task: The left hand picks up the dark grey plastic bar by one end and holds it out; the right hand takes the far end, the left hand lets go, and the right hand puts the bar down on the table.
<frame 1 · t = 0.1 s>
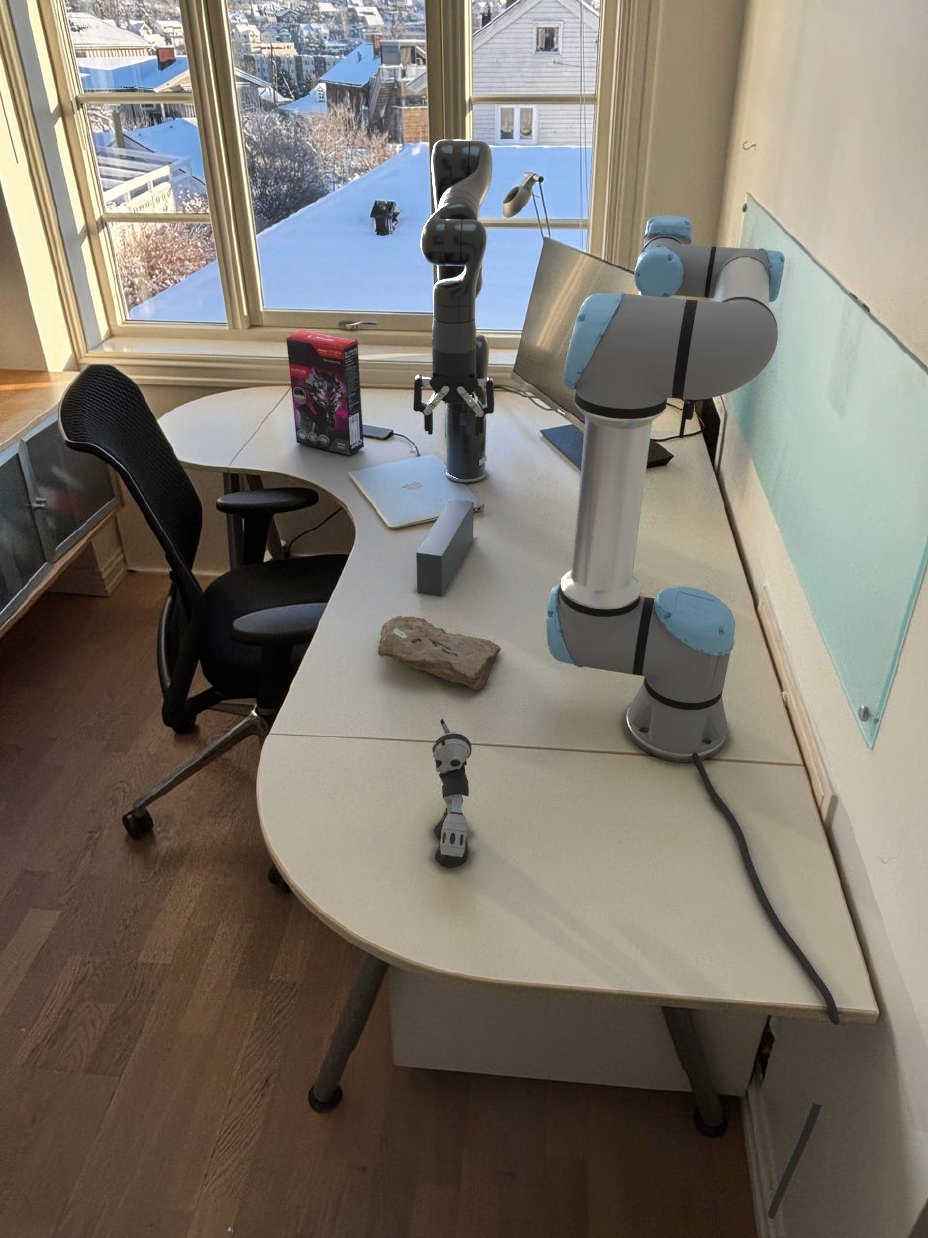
left hand: (453, 433, 166), 29 cm above the table, tool pointing down, fingers open, 8 cm apart
right hand: (643, 431, 170), 28 cm above the table, tool pointing down, fingers open, 13 cm apart
robot: (451, 844, 123), on the table
stone: (433, 664, 157), on the table
graphics card box: (330, 446, 233), on the table
bar: (446, 564, 185), on the table
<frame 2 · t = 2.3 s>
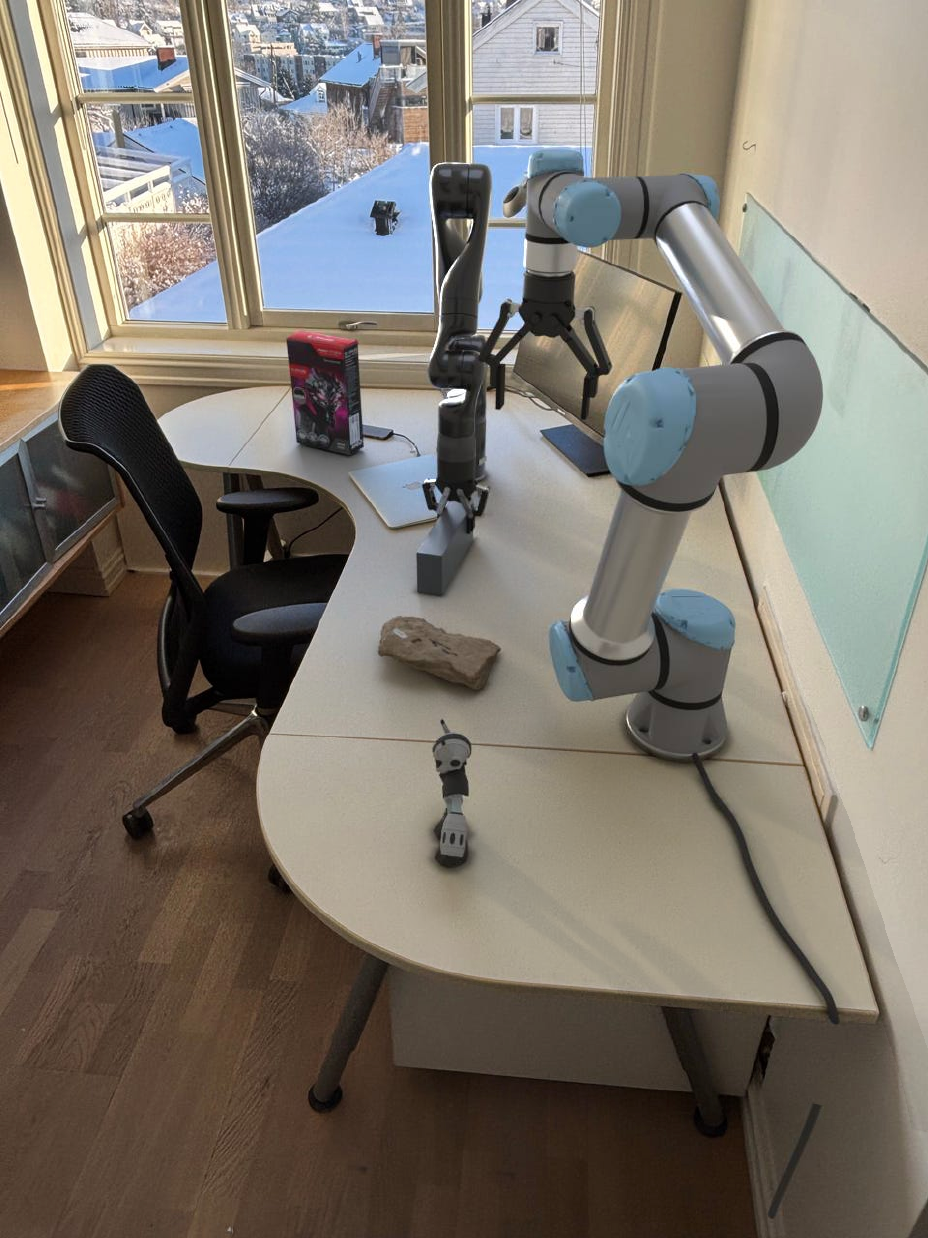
left hand: (456, 529, 188), 4 cm above the table, tool pointing down, fingers closed on bar, 5 cm apart
right hand: (541, 411, 144), 41 cm above the table, tool pointing down, fingers open, 13 cm apart
bar: (446, 564, 185), on the table, touching left hand
everything else where it was.
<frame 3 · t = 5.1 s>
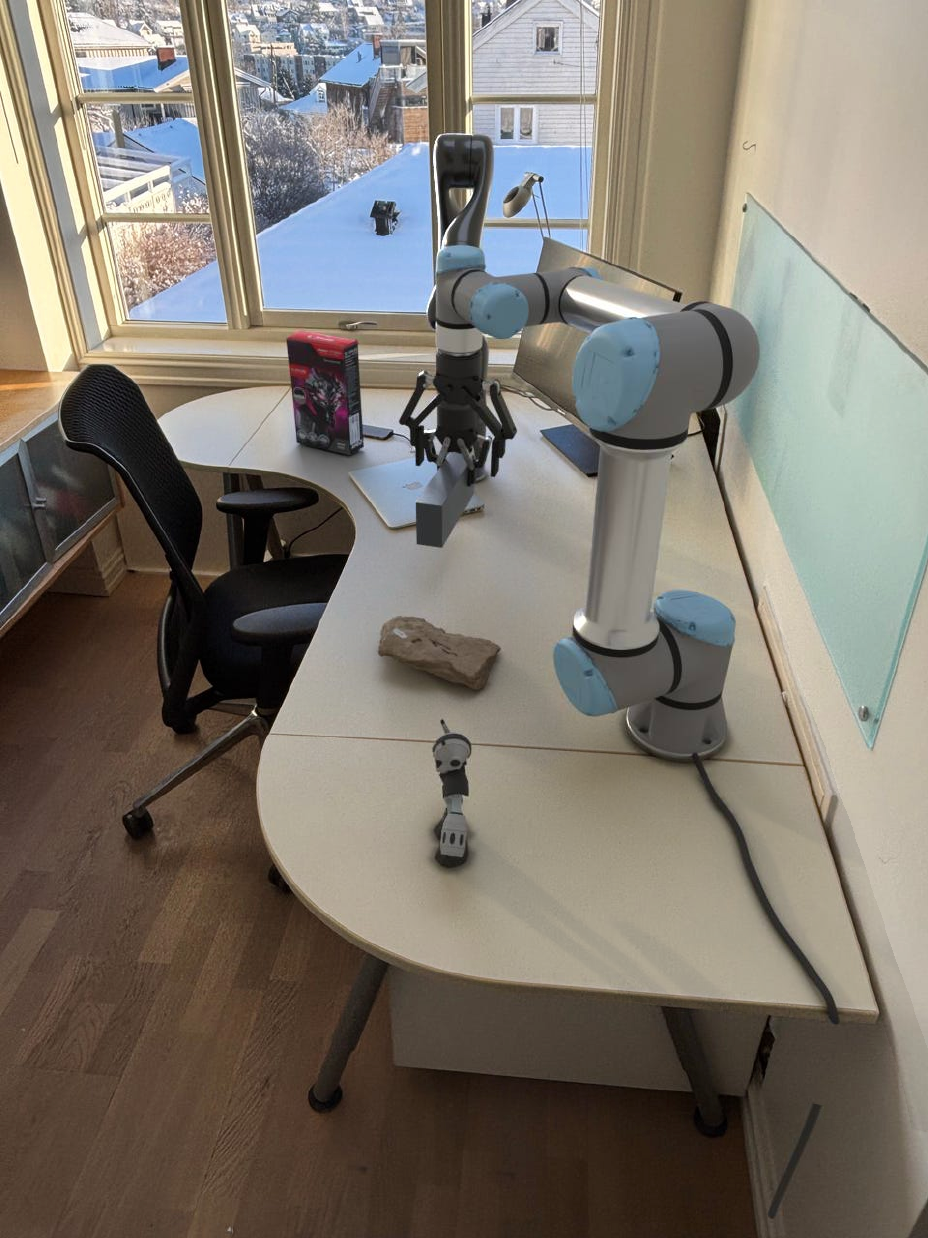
left hand: (456, 482, 183), 15 cm above the table, tool pointing down, fingers closed on bar, 5 cm apart
right hand: (456, 468, 161), 26 cm above the table, tool pointing down, fingers open, 13 cm apart
bar: (446, 517, 179), point 10 cm above the table, touching left hand
everything else where it was.
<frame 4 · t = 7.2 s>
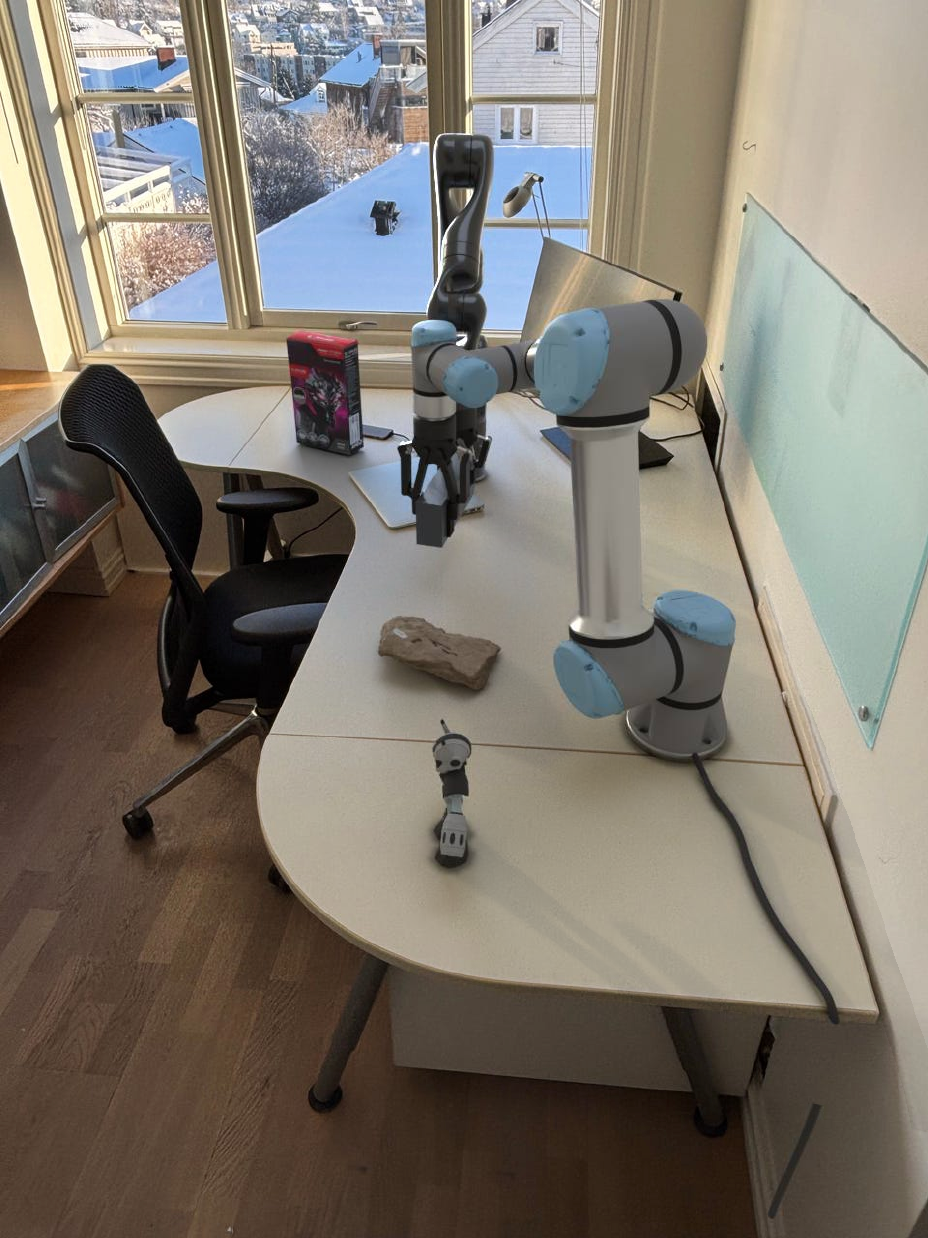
left hand: (456, 482, 183), 15 cm above the table, tool pointing down, fingers closed on bar, 5 cm apart
right hand: (435, 531, 173), 11 cm above the table, tool pointing down, fingers closed on bar, 5 cm apart
bar: (446, 517, 179), point 10 cm above the table, touching right hand, left hand
everything else where it was.
when the left hand's fingers open (15 cm above the table, at t = 8.1 s): bar stays where it is, held by the right hand.
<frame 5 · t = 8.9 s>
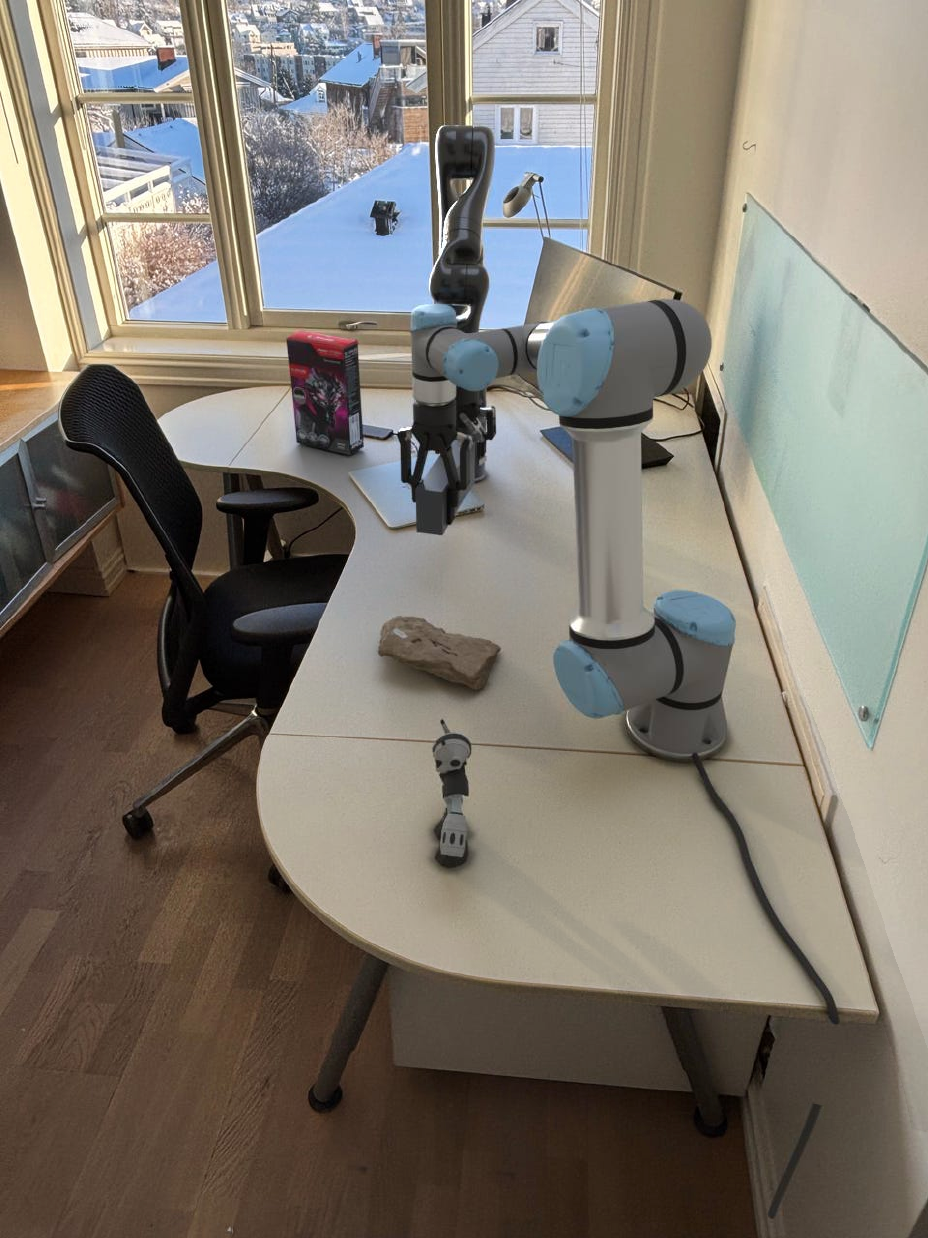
left hand: (458, 455, 181), 20 cm above the table, tool pointing down, fingers open, 8 cm apart
right hand: (436, 519, 171), 14 cm above the table, tool pointing down, fingers closed on bar, 5 cm apart
bar: (446, 506, 178), point 13 cm above the table, touching right hand
everything else where it was.
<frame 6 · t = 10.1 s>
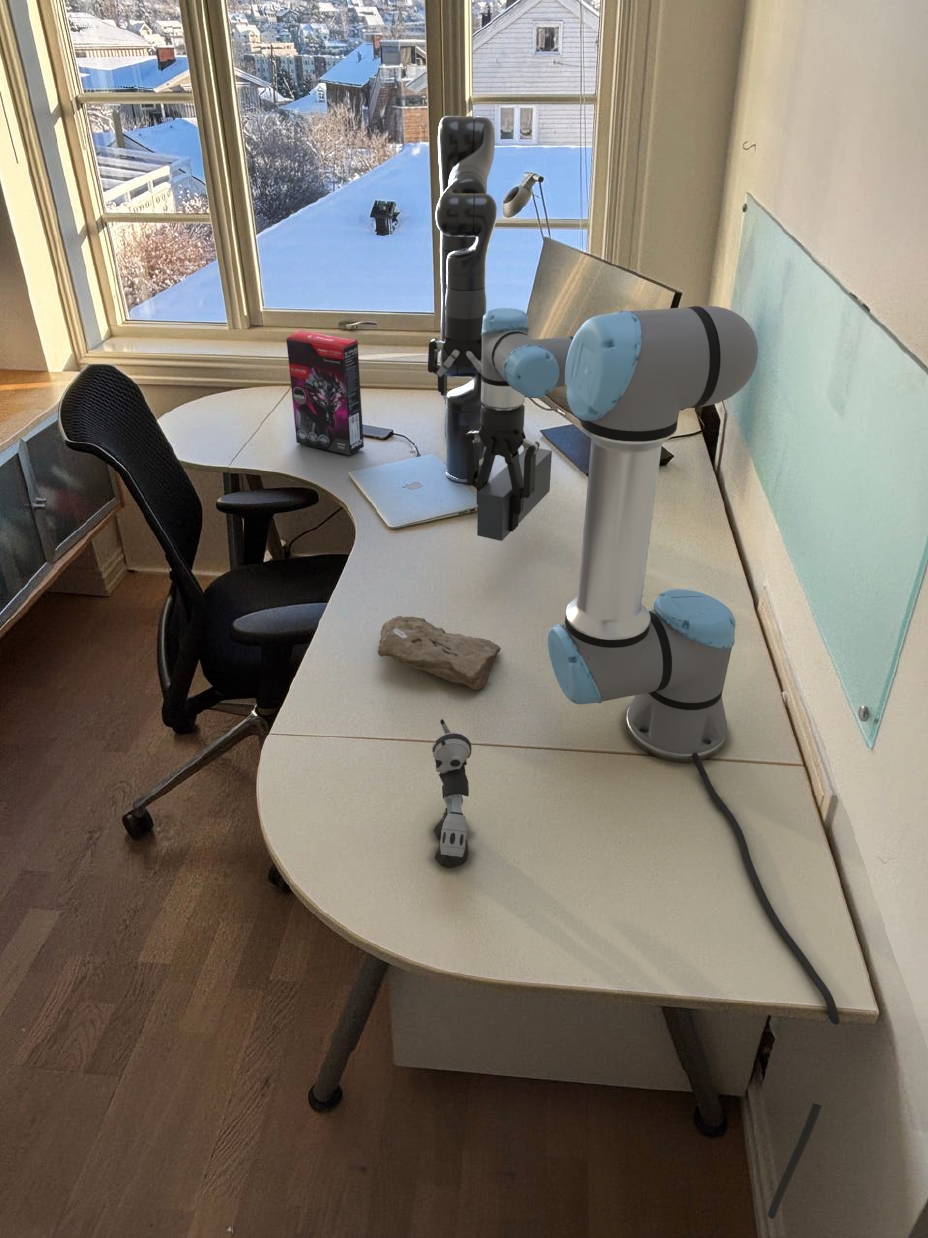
left hand: (465, 396, 178), 30 cm above the table, tool pointing down, fingers open, 8 cm apart
right hand: (499, 524, 170), 14 cm above the table, tool pointing down, fingers closed on bar, 5 cm apart
bar: (515, 512, 176), point 13 cm above the table, touching right hand
everything else where it was.
when the right hand's fingers open (2 cm above the table, at t = 13.3 s): bar drops 1 cm, on the table.
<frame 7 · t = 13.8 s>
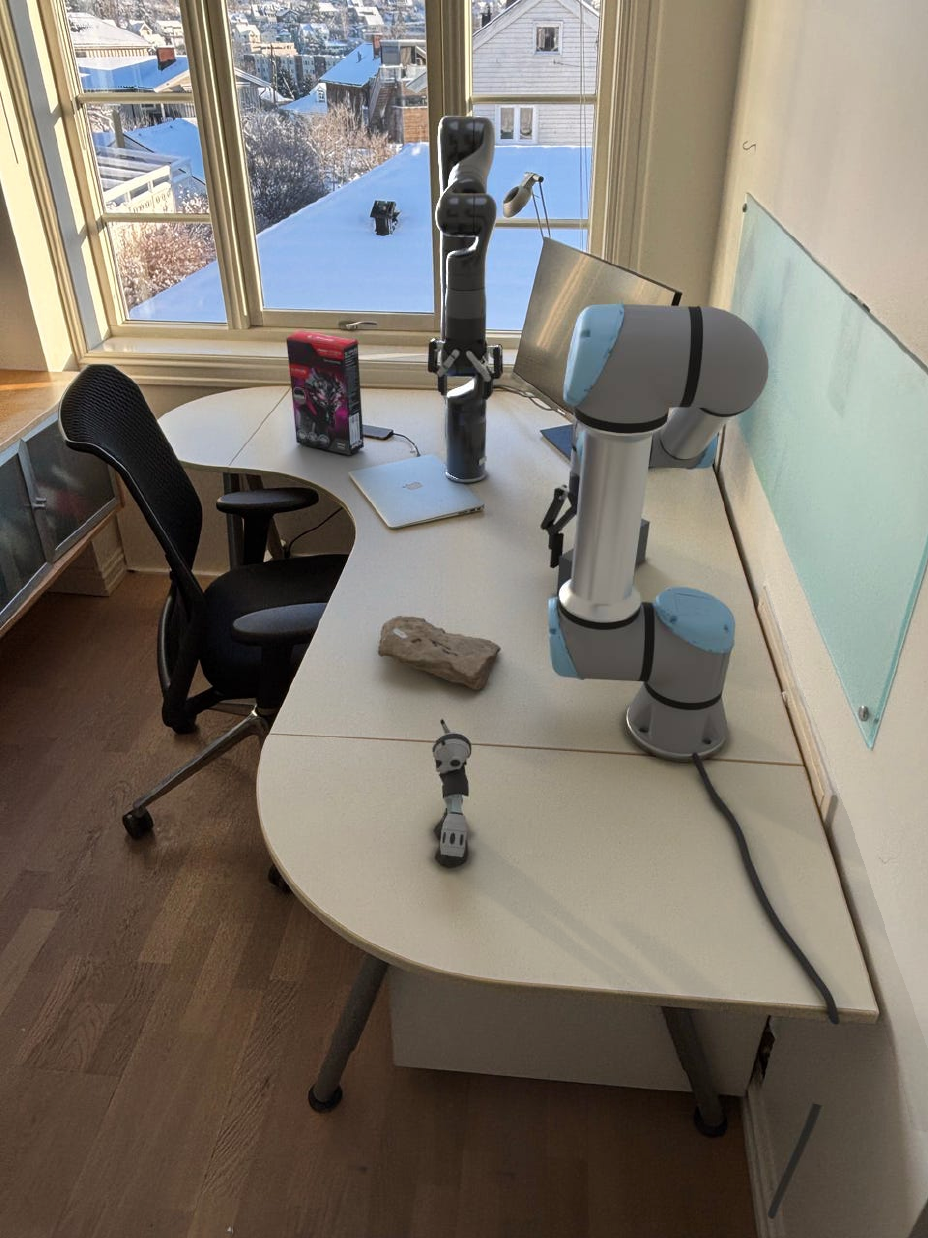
left hand: (465, 396, 178), 30 cm above the table, tool pointing down, fingers open, 8 cm apart
right hand: (581, 576, 175), 3 cm above the table, tool pointing down, fingers open, 11 cm apart
bar: (602, 577, 181), on the table
everything else where it was.
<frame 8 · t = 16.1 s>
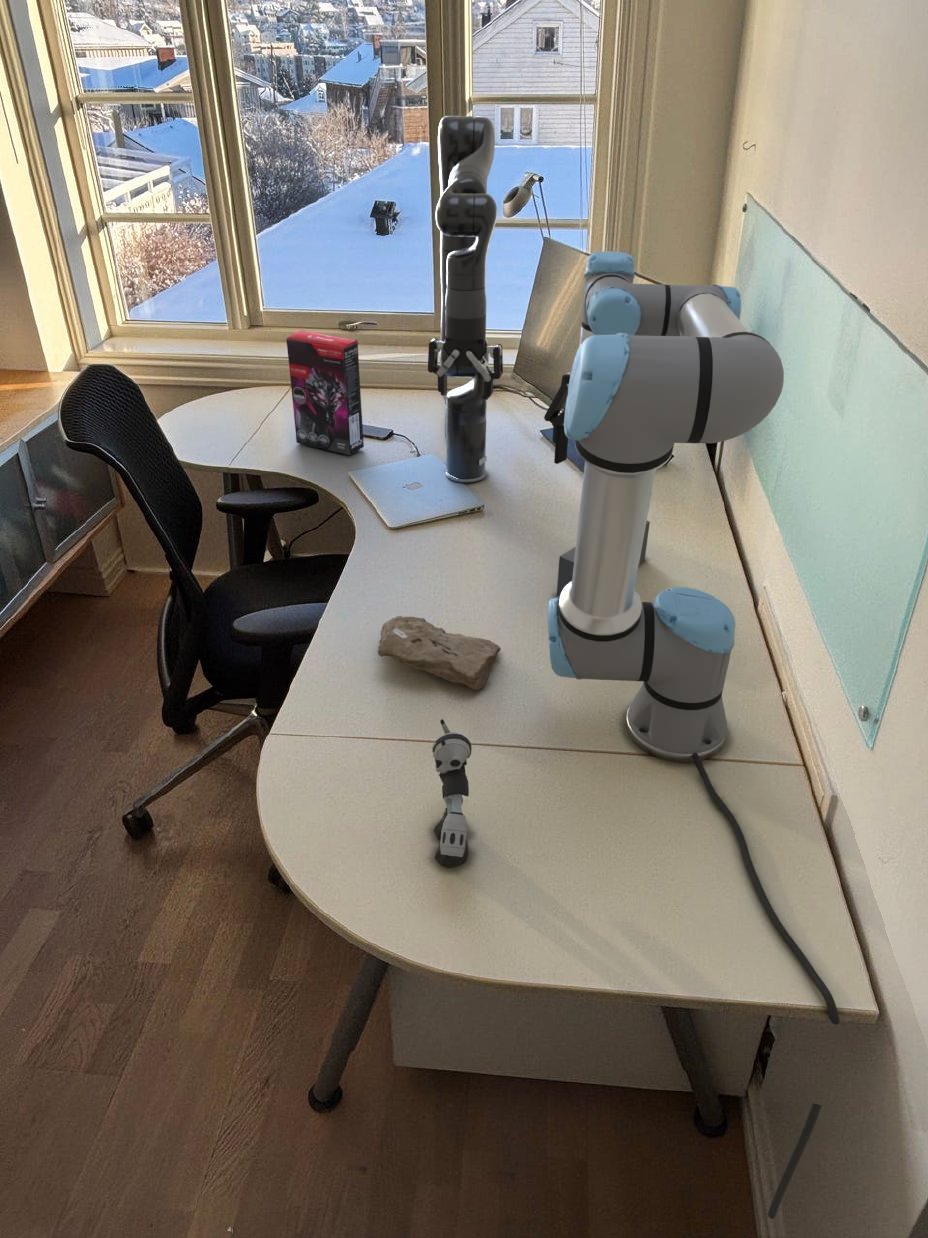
left hand: (465, 396, 178), 30 cm above the table, tool pointing down, fingers open, 8 cm apart
right hand: (591, 472, 163), 25 cm above the table, tool pointing down, fingers open, 13 cm apart
nothing on the table moved.
at the end: bar inside the target area (7.2 cm from its centre), on the table; the left hand is holding nothing; the right hand is holding nothing; bar at rest at the end (0.0 cm/s) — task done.
